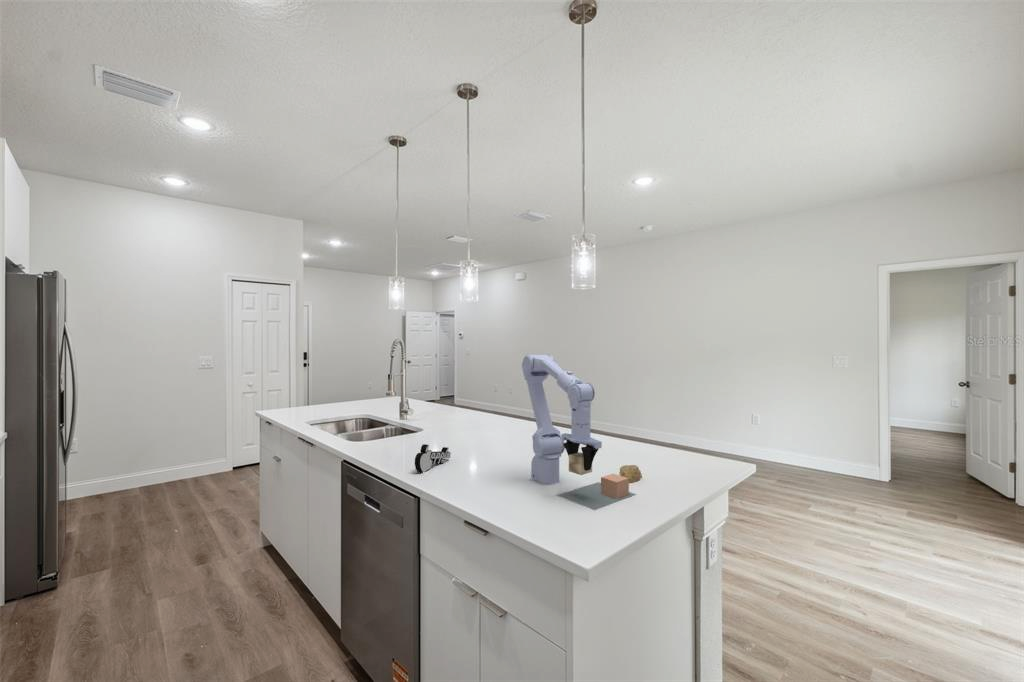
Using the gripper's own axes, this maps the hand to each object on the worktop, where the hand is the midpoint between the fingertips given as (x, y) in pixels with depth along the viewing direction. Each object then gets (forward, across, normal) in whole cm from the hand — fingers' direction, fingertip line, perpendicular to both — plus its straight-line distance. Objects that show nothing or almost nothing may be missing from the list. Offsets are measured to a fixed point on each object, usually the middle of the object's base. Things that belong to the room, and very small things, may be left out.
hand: (580, 467), depth 132 cm
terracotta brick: (+9, +5, +10) cm, 14 cm away
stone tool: (+10, -1, +27) cm, 29 cm away
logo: (+10, -58, -18) cm, 61 cm away
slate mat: (+9, +2, +5) cm, 11 cm away
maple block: (+1, 0, 0) cm, 1 cm away
